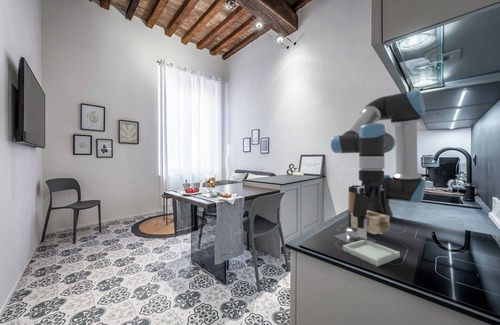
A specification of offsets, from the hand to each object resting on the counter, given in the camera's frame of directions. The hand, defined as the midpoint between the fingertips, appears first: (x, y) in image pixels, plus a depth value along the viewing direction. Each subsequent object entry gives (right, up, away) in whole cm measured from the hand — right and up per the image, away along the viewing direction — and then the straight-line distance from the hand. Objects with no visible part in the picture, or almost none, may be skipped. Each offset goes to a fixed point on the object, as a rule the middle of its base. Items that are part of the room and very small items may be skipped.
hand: (370, 235), depth 72 cm
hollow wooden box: (0, +2, 0) cm, 2 cm away
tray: (0, -7, 0) cm, 7 cm away
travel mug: (+8, -6, +24) cm, 26 cm away
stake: (+1, -6, +13) cm, 15 cm away
